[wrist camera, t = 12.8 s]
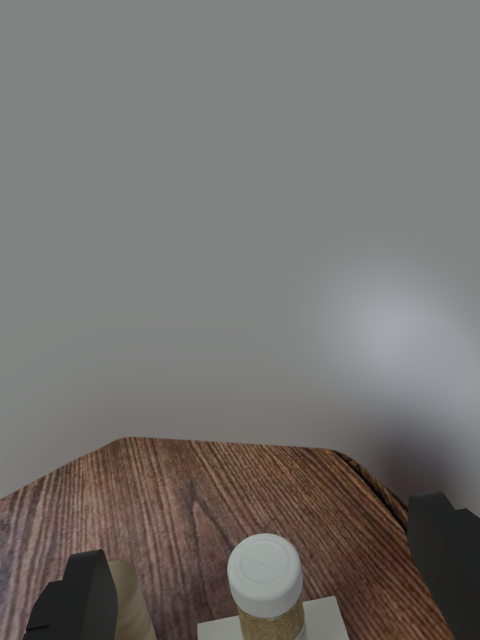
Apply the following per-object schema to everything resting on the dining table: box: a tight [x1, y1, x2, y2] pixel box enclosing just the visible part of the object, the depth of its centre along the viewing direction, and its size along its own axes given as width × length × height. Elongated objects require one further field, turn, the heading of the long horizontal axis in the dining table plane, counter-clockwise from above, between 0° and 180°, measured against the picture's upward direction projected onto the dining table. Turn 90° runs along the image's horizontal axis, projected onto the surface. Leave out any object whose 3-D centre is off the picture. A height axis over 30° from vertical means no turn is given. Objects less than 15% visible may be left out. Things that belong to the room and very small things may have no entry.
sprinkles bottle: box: [227, 533, 308, 640], centre depth 30 cm, size 5×5×14 cm
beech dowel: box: [108, 560, 157, 640], centre depth 34 cm, size 4×4×10 cm
